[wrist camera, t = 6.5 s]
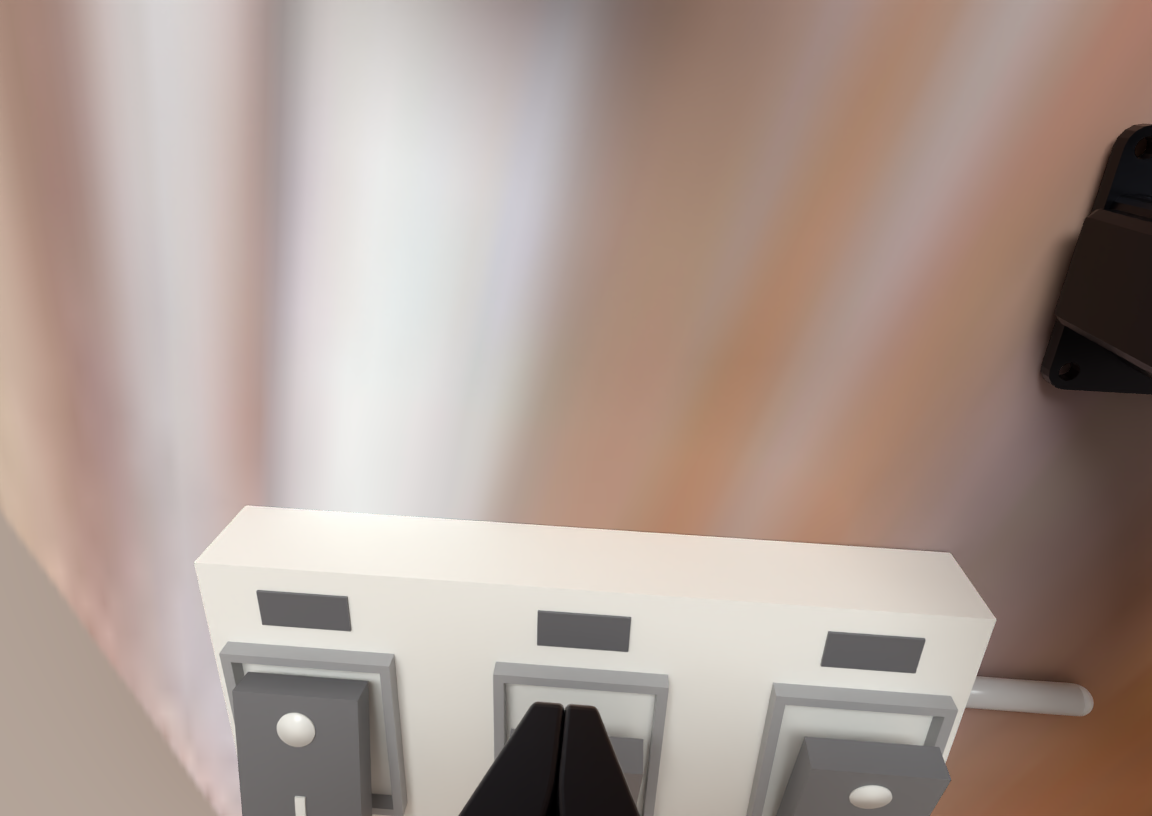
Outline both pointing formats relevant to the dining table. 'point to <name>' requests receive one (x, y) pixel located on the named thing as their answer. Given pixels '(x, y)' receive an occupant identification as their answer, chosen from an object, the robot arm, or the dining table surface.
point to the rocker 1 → (303, 745)
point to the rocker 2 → (864, 779)
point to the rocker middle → (628, 761)
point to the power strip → (606, 646)
